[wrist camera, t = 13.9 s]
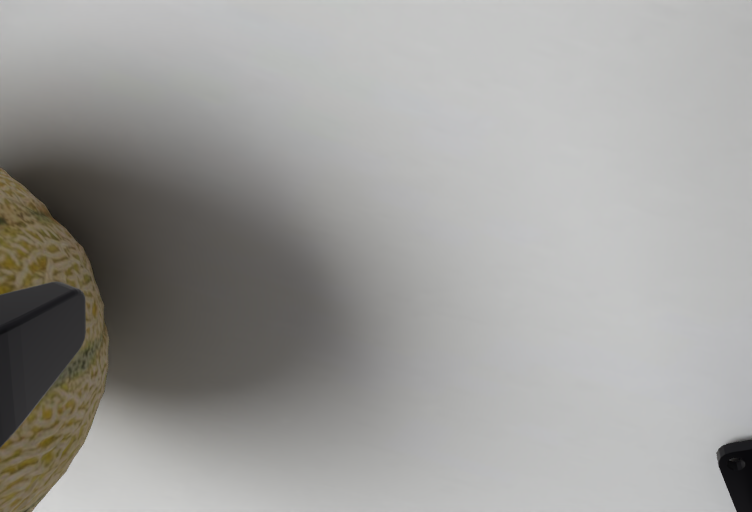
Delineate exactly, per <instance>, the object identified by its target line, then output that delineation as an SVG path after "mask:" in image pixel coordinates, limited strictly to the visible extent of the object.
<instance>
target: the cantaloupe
mask: <svg viewBox="0 0 752 512" xmlns="http://www.w3.org/2000/svg"><path fill="white" fill-rule="evenodd" d="M50 282H62V283H65V284H68V285H70V286H73V287H75V288H78V289H80V290H81V291H83V293H84V295H85V300H86V335H85V340H84V342H83V345H82V346H81V348H80V350H79V351H78V352H77V354H76V355H75V356H74V358H73V359H72V360H71V362H70V363H69V364H68V365H67V367H66V368H65V369H64V371H63V372H62V373H61V374H60V376H59V377H58V378H57V380H56V381H55V382H54V383H53V385H52V386H51V387H50V389H49V390H48V391H47V392H46V394H45V395H44V396H43V398H42V399H41V400H40V401H39V403H38V404H37V405H36V407H35V408H34V409H33V410H32V412H31V413H30V414H29V416H28V417H27V418H26V419H25V421H24V422H23V423H22V424H21V425H20V427H19V428H18V429H17V430H16V431H15V432H14V434H13V435H12V436H11V437H10V438H9V439H8V440H7V441H6V442H5V443H4V444H3V446H2V447H1V448H0V512H32V511H33V509H34V508H35V507H36V506H37V504H38V503H39V502H40V501H41V500H42V499H43V498H44V497H45V495H46V494H47V493H48V492H49V490H50V489H51V488H52V487H53V486H54V485H55V484H56V482H57V481H58V480H59V479H60V478H61V477H62V476H63V474H64V473H65V472H66V471H67V469H68V467H69V465H70V464H71V462H72V460H73V459H74V457H75V456H76V454H77V453H78V451H79V450H80V448H81V447H82V445H83V444H84V442H85V439H86V437H87V435H88V433H89V430H90V428H91V425H92V422H93V419H94V416H95V414H96V411H97V408H98V406H99V403H100V400H101V398H102V396H103V394H104V391H105V384H106V377H107V370H108V347H109V336H108V330H107V327H106V324H105V321H104V304H103V302H102V299H101V296H100V292H99V289H98V287H97V284H96V282H95V279H94V276H93V271H92V267H91V263H90V261H89V259H88V257H87V255H86V253H85V251H84V248H83V247H82V246H81V245H80V244H79V243H78V242H77V241H76V240H75V239H74V238H73V237H72V235H71V234H70V233H69V232H68V230H67V229H66V228H65V227H63V226H62V225H61V224H60V223H58V222H57V221H56V220H55V219H53V218H52V216H51V214H50V212H49V211H48V209H47V207H46V206H45V204H43V203H42V202H41V201H40V200H38V199H37V198H36V197H35V196H33V195H32V194H31V193H30V192H29V191H28V189H27V188H26V187H25V186H24V185H22V184H21V183H19V182H18V181H16V180H15V179H13V178H12V177H11V176H10V175H9V174H8V173H7V172H6V171H5V170H3V169H2V168H0V294H5V293H9V292H13V291H17V290H21V289H25V288H29V287H33V286H37V285H42V284H46V283H50Z"/></svg>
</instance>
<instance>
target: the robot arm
mask: <svg viewBox="0 0 752 512" xmlns="http://www.w3.org/2000/svg"><path fill="white" fill-rule="evenodd" d="M85 335H86V300H85V295H84V293H83V291H81V290H80V289H78V288H75V287H73V286H70V285H68V284H65V283H62V282H50V283H46V284H42V285H37V286H33V287H29V288H25V289H21V290H17V291H13V292H9V293H5V294H0V448H1V447H2V446H3V444H4V443H5V442H6V441H7V440H8V439H9V438H10V437H11V436H12V435H13V434H14V432H15V431H16V430H17V429H18V428H19V427H20V425H21V424H22V423H23V422H24V421H25V419H26V418H27V417H28V416H29V414H30V413H31V412H32V410H33V409H34V408H35V407H36V405H37V404H38V403H39V401H40V400H41V399H42V398H43V396H44V395H45V394H46V392H47V391H48V390H49V389H50V387H51V386H52V385H53V383H54V382H55V381H56V380H57V378H58V377H59V376H60V374H61V373H62V372H63V371H64V369H65V368H66V367H67V365H68V364H69V363H70V362H71V360H72V359H73V358H74V356H75V355H76V354H77V352H78V351H79V350H80V348H81V346H82V345H83V342H84V340H85ZM732 458H739V459H741V460H739V461H730V459H732ZM717 460H718V465H719V468H720V471H721V473H722V476H723V478H724V481H725V483H726V486H727V488H728V491H729V493H730V496H731V498H732V501H733V503H734V506H735V508H736V511H737V512H752V440H748V441H742V442H735V443H729V444H726V445H723V446H722V447H720V448H719V449H718V451H717Z"/></svg>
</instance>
